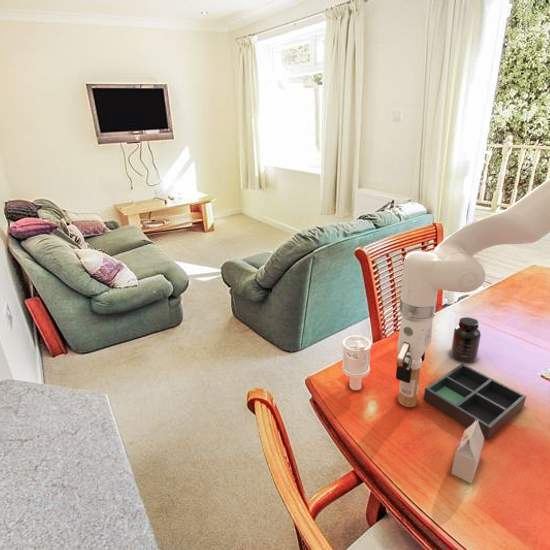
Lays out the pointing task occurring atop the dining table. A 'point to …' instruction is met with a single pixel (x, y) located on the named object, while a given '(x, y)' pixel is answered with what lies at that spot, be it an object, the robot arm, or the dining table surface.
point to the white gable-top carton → (468, 453)
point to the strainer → (356, 360)
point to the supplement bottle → (466, 340)
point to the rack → (475, 399)
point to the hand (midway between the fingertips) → (410, 369)
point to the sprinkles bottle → (410, 385)
